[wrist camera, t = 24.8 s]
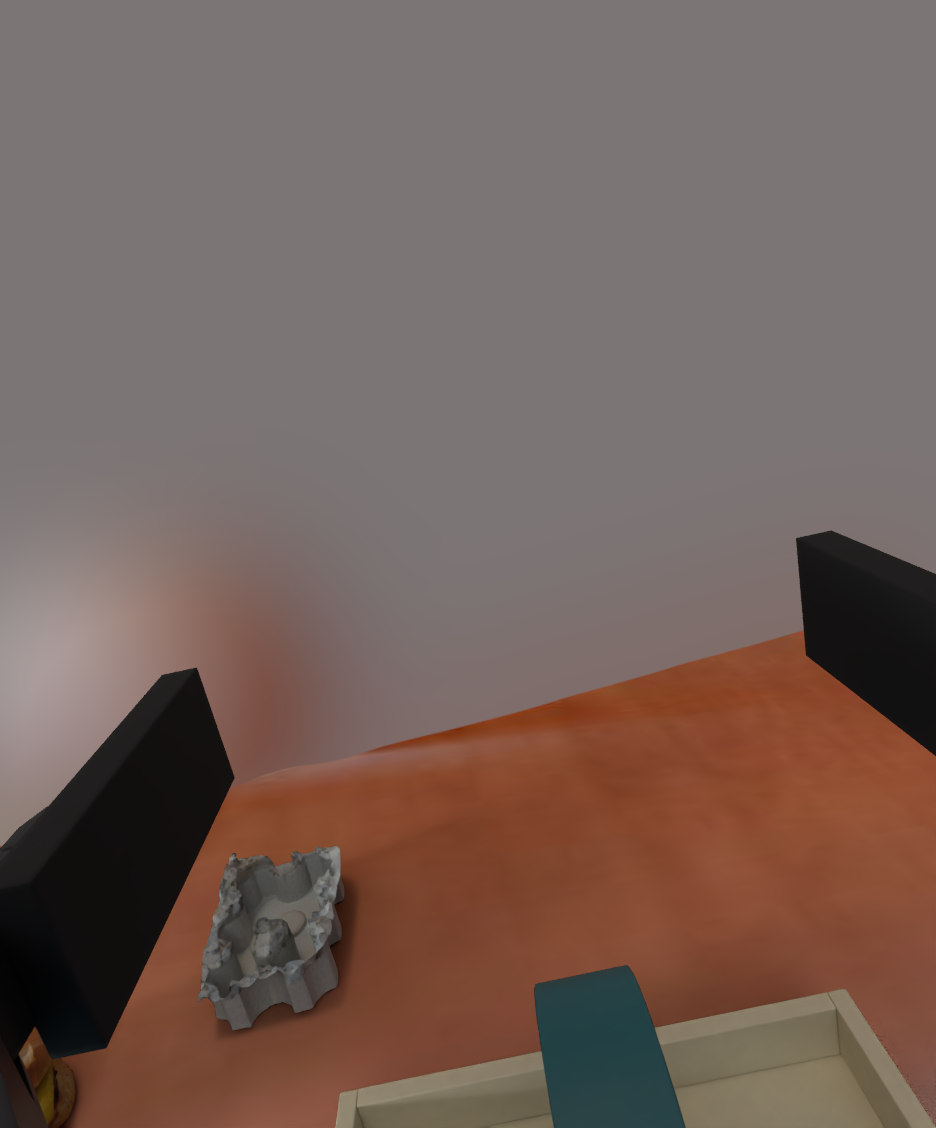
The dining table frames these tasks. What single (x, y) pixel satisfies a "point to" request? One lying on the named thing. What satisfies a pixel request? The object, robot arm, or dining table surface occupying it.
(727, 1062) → the tray
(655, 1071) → the disc
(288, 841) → the dining table surface
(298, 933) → the egg carton
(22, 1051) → the burger
